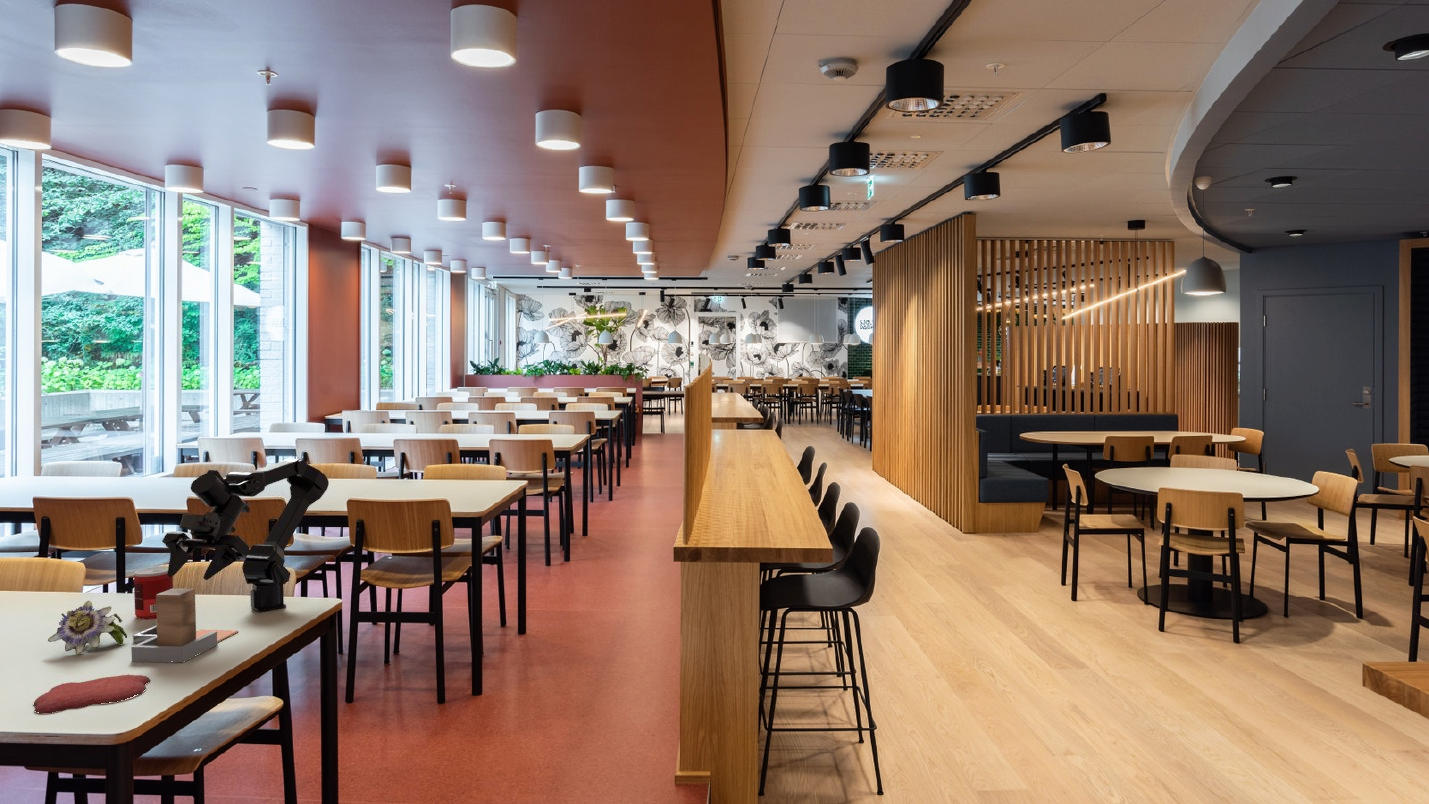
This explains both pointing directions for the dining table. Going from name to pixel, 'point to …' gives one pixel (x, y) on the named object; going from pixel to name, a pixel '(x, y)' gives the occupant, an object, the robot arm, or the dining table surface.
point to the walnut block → (176, 617)
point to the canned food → (149, 590)
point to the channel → (172, 650)
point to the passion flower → (87, 627)
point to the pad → (220, 633)
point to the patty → (90, 693)
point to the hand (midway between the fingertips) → (186, 578)
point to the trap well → (145, 634)
